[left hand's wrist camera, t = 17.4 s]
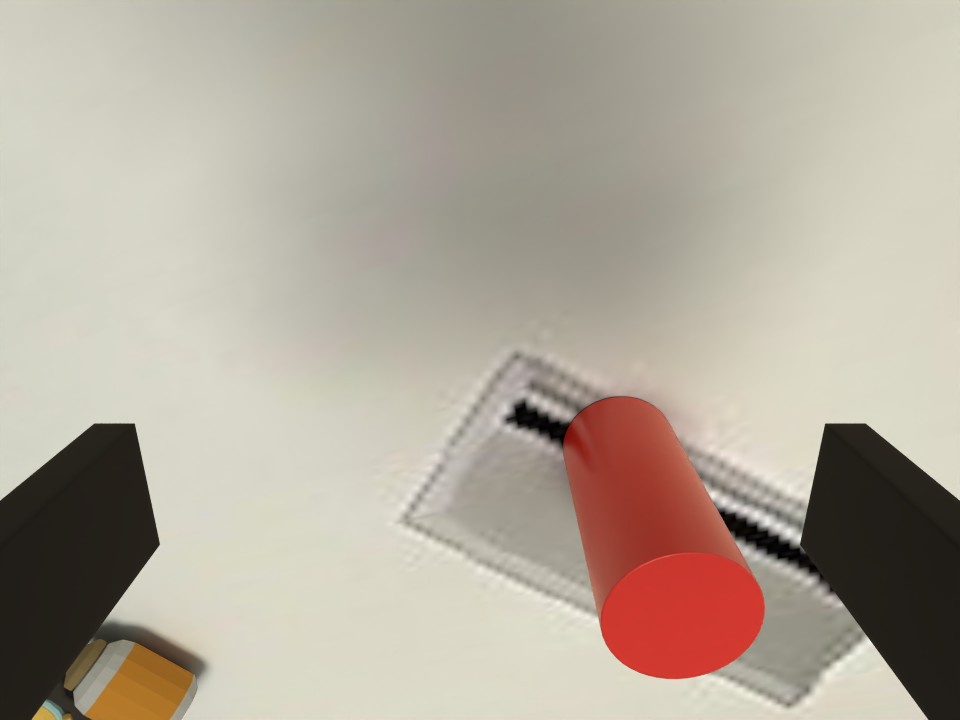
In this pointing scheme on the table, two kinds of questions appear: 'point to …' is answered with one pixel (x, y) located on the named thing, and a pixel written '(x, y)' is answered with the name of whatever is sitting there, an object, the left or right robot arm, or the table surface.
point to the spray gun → (120, 686)
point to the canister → (656, 546)
